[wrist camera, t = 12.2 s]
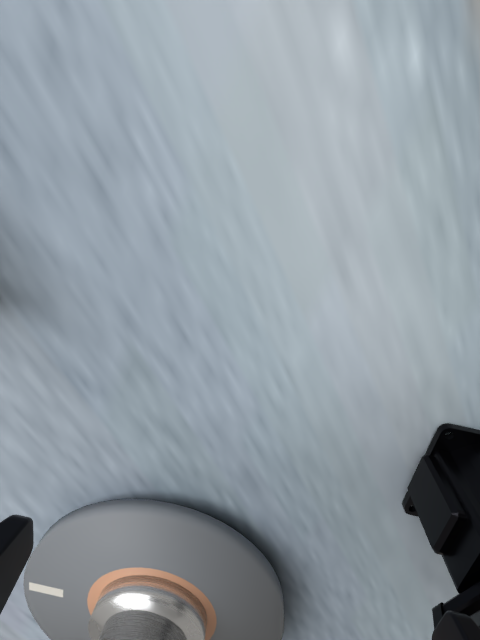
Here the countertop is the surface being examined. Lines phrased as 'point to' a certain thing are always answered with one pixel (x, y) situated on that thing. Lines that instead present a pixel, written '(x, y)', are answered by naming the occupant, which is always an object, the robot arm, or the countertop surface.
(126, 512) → the turntable
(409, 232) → the countertop surface
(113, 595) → the cover
